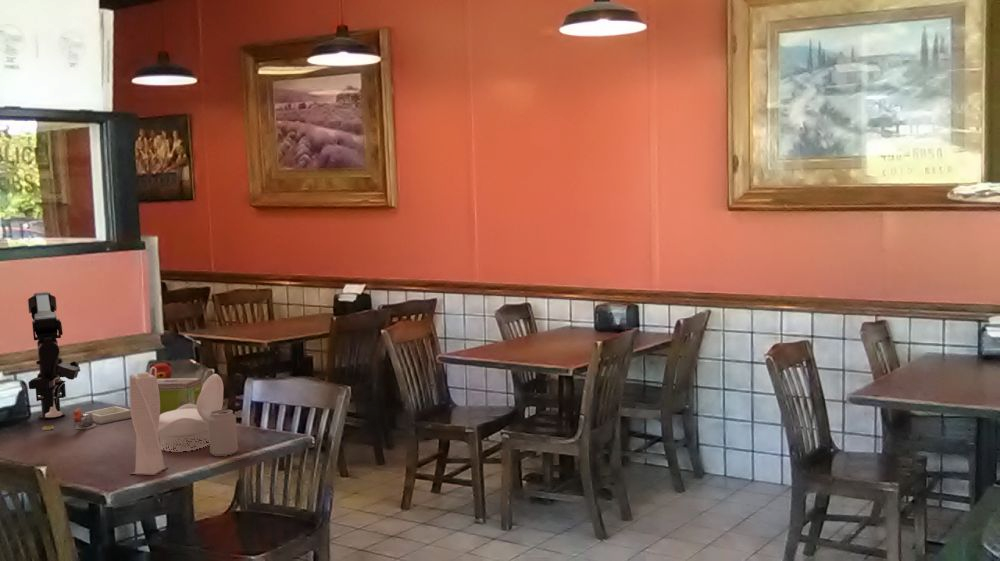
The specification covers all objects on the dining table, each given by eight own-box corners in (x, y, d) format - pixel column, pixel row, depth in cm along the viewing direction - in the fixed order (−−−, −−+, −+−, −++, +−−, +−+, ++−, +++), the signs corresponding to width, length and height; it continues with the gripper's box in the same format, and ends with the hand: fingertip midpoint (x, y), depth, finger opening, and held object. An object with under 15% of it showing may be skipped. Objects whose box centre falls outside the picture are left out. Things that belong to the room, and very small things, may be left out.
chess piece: (48, 414, 325) (45, 382, 324) (64, 413, 326) (61, 381, 325) (42, 417, 320) (39, 385, 319) (59, 416, 321) (56, 384, 320)
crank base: (71, 427, 329) (71, 426, 329) (91, 423, 333) (91, 422, 333) (80, 430, 324) (80, 429, 324) (100, 426, 329) (100, 425, 329)
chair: (159, 439, 308) (154, 373, 306) (228, 433, 312) (224, 368, 310) (151, 456, 289) (146, 385, 287) (225, 450, 293) (220, 380, 291)
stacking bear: (144, 422, 332) (140, 367, 331) (148, 415, 342) (144, 361, 341) (180, 419, 335) (176, 364, 333) (183, 412, 345) (179, 359, 343)
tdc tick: (53, 428, 328) (53, 425, 328) (52, 429, 327) (52, 426, 327) (43, 429, 328) (43, 426, 328) (42, 430, 327) (42, 427, 327)
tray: (85, 419, 339) (85, 412, 339) (116, 413, 347) (115, 406, 347) (100, 424, 332) (100, 416, 332) (132, 417, 340) (131, 410, 339)
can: (242, 450, 292) (239, 408, 291) (232, 457, 285) (229, 414, 283) (216, 450, 293) (213, 408, 292) (206, 457, 285) (203, 414, 284)
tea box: (205, 423, 328) (202, 376, 326) (190, 431, 318) (187, 383, 316) (161, 423, 330) (157, 377, 329) (145, 430, 320) (141, 383, 319)
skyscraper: (173, 468, 276) (165, 364, 273) (157, 477, 268) (149, 369, 265) (144, 467, 278) (136, 364, 275) (127, 476, 270) (119, 369, 267)
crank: (80, 423, 331) (78, 403, 330) (94, 422, 331) (93, 402, 330) (69, 432, 318) (67, 411, 318) (84, 432, 319) (82, 410, 318)
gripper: (63, 360, 312) (67, 411, 314) (86, 350, 331) (89, 398, 332) (25, 362, 312) (30, 413, 313) (50, 351, 330) (54, 400, 332)
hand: (52, 405), depth 323 cm, fingers closed on chess piece
